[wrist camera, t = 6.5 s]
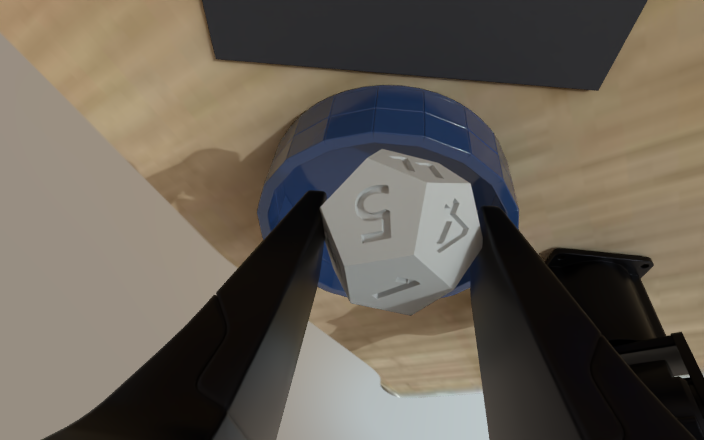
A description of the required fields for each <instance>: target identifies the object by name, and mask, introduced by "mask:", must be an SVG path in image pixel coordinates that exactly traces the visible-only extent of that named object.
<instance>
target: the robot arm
mask: <svg viewBox="0 0 704 440" xmlns="http://www.w3.org/2000/svg"><path fill="white" fill-rule="evenodd" d="M326 201H327V195H326V193H325V192H324V191H316V190H309V191H307V192H306V193H305V194H304V196H303V197H302V198H301V199H300V200H299V201H298V202H297V203H296V205H295V206H294V207H293V208H292V209H291V210H290V211H289V212H288V213H287V215H286V216H285V217H284V218H283V219H282V220H281V221H280V222H279V223H278V225H277V226H276V227H275V228H274V229H273V230H272V231H271V232H270V233H269V235H268V236H267V237H266V238H265V239H264V240H263V241H262V242H261V243H260V245H259V246H258V247H257V248H256V249H255V250H254V251H253V252H252V253H251V255H250V256H249V257H248V258H247V259H246V260H245V261H244V262H243V263H242V265H241V266H240V267H239V268H238V269H237V270H236V271H235V272H234V274H233V275H232V276H231V277H230V278H229V279H228V280H227V281H226V283H224V285H223V286H222V287H221V288H220V289H219V290H218V291H217V293H216V294H217V296H216V295H213V297H212V298H211V299H210V300H209V301H208V302H207V303H206V304H205V305H204V307H203V308H202V309H201V310H200V311H199V312H198V313H197V314H196V315H195V316H194V317H193V318H192V319H191V321H189V323H188V324H187V325H186V326H185V327H184V328H183V329H182V330H181V331H179V332H178V333H177V334H176V335H175V336H174V337H173V338H172V339H171V340H170V341H169V342H168V343H167V344H166V345H165V346H164V347H163V348H161V349H160V350H159V351H158V352H157V353H156V354H155V355H154V356H153V357H152V358H150V360H148V361H147V362H146V363H145V364H144V365H143V366H142V367H141V368H139V369H138V370H137V371H136V372H135V373H134V374H133V375H132V376H131V377H130V378H129V379H127V380H126V381H125V382H124V383H123V384H122V385H121V386H120V387H119V388H118V389H116V390H115V391H114V392H113V393H112V394H111V395H110V396H109V397H107V398H106V399H105V400H104V401H103V402H102V403H101V404H99V405H98V406H97V407H95V408H94V409H93V410H91V411H90V412H89V413H88V414H86V415H84V416H83V417H82V418H80V419H79V420H77V421H75V422H74V423H72V424H70V425H69V426H67V427H65V428H64V429H61V430H60V431H58V432H55V433H54V434H52V435H50V436H48V437H46V438H44V439H42V440H276V438H277V434H278V430H279V427H280V423H281V419H282V416H283V412H284V408H285V404H286V401H287V397H288V393H289V390H290V386H291V382H292V378H293V375H294V371H295V368H296V364H297V360H298V356H299V352H300V349H301V345H302V342H303V338H304V334H305V330H306V327H307V323H308V320H309V316H310V312H311V309H312V305H313V301H314V297H315V294H316V290H317V286H318V282H319V276H320V270H321V263H322V256H323V249H324V241H325V240H324V230H323V225H322V218H321V212H320V207H321V206H322V205H323V204H324V203H325V202H326ZM477 214H478V219H479V223H480V228H481V232H482V237H483V244H482V249H481V250H480V252H479V253H478V255H477V256H476V258H475V259H474V261H473V262H472V264H471V265H470V290H471V304H472V312H473V320H474V327H475V335H476V342H477V349H478V357H479V364H480V372H481V379H482V387H483V394H484V402H485V409H486V417H487V423H488V432H489V439H490V440H704V377H703V375H702V373H701V371H700V369H699V367H698V365H697V362H696V360H695V358H694V356H693V354H692V352H691V350H690V348H689V346H688V344H687V342H686V340H685V338H684V336H683V334H682V332H677V333H672V334H671V335H670V336H666V334H665V332H664V330H663V328H662V326H661V323H660V321H659V319H658V317H657V314H656V312H655V310H654V308H653V306H652V303H651V301H650V299H649V297H648V294H647V292H646V290H645V288H644V285H643V283H642V281H641V279H640V278H642V277H643V276H644V275H645V274H646V273H647V272H648V271H649V270H650V269H651V268H652V267H653V262H652V260H651V258H649V257H642V256H632V255H622V254H612V253H602V252H593V251H583V250H573V249H563V248H562V249H556V250H554V251H553V252H552V253H551V255H550V256H549V258H548V259H547V261H546V262H544V261H543V260H542V259H541V257H540V256H539V255H538V254H537V252H536V251H535V250H534V249H533V247H532V246H531V245H530V244H529V242H528V241H527V240H526V239H525V237H524V236H523V235H522V234H521V233H520V231H519V230H518V229H517V228H516V226H515V225H514V224H513V223H512V221H511V220H510V219H509V218H508V216H507V215H506V214H505V213H504V211H503V210H502V209H501V208H499V207H496V206H485V205H484V206H481V207H480V208H479V210H478V213H477ZM686 374H689V375H690V378H681V377H679V375H686ZM674 376H678V377H674Z"/></svg>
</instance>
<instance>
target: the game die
mask: <svg viewBox="0 0 704 440" xmlns="http://www.w3.org/2000/svg"><path fill="white" fill-rule="evenodd" d="M320 212H321V218H322V225H323V230H324V240H325V243H326V247H327V250H328V253H329V256H330V259H331V262H332V266H333V269H334V271H335V273H336V275H337V277H338V279H339V281H340V283H341V285H342V287H343V289H344V291H345V293H346V295H347V297H348V299H349V301H350V303H352V304H357V305H362V306H367V307H372V308H377V309H381V310H386V311H391V312H396V313H401V314H405V315H410V316H411V315H413V314H415V313H416V312H418V311H420V310H421V309H423V308H425V307H426V306H428V305H430V304H431V303H433V302H435V301H436V300H438V299H440V298H441V297H443V296H445V295H446V294H448V293H450V292H451V291H453V290H454V289H455V287H456V286H457V284H458V283H459V281H460V280H461V278H462V277H463V275H464V274H465V272H466V271H467V269H468V268H469V267H470V265H471V264H472V262H473V261H474V259H475V258H476V256H477V255H478V253H479V252H480V250H481V249H482V244H483V237H482V232H481V228H480V223H479V219H478V214H477V210H476V205H475V201H474V196H473V192H472V187H471V183H469V182H468V181H466V180H464V179H463V178H461V177H460V176H458V175H456V174H455V173H453V172H452V171H450V170H448V169H447V168H445V167H444V166H442V165H441V164H439V163H436V162H432V161H428V160H424V159H420V158H417V157H413V156H409V155H405V154H401V153H397V152H393V151H389V150H385V149H381V150H379V151H378V152H376V153H374V154H373V155H371V156H369V157H368V158H367V159H366V160H365V161H364V162H363V163H362V164H361V165H360V166H359V167H358V168H357V169H356V170H355V171H354V172H353V173H352V174H351V175H350V176H349V177H348V178H347V180H346V181H345V182H344V183H343V184H342V185H341V186H340V187H339V188H338V189H337V190H336V191H335V192H334V193H333V194H332V195H331V196H330V197H329V198H328V199H327V201H326V202H325V203H324V204H323V205H322V206H321V207H320Z"/></svg>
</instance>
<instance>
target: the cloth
mask: <svg viewBox="0 0 704 440" xmlns="http://www.w3.org/2000/svg"><path fill="white" fill-rule="evenodd" d="M202 2H203V6H204V11H205V15H206V19H207V23H208V28H209V32H210V36H211V41H212V45H213V49H214V53H215V58H216V59H221V60H233V61H245V62H257V63H269V64H281V65H293V66H306V67H318V68H330V69H342V70H354V71H366V72H378V73H390V74H402V75H415V76H427V77H439V78H451V79H463V80H475V81H487V82H499V83H512V84H524V85H536V86H548V87H560V88H572V89H584V90H596V91H598V90H599V88H600V86H601V85H602V83H603V81H604V79H605V77H606V75H607V74H608V72H609V70H610V68H611V66H612V64H613V63H614V61H615V59H616V57H617V55H618V53H619V52H620V50H621V48H622V46H623V44H624V43H625V41H626V39H627V37H628V35H629V33H630V32H631V30H632V28H633V26H634V24H635V22H636V21H637V19H638V17H639V15H640V13H641V11H642V10H643V8H644V6H645V4H646V2H647V0H202Z"/></svg>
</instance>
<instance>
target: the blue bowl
mask: <svg viewBox="0 0 704 440" xmlns="http://www.w3.org/2000/svg"><path fill="white" fill-rule="evenodd" d="M381 149H385V150H389V151H393V152H397V153H401V154H405V155H409V156H413V157H417V158H420V159H424V160H428V161H432V162H436V163H439V164H441V165H442V166H444V167H445V168H447V169H448V170H450V171H452V172H453V173H455V174H456V175H458V176H460V177H461V178H463V179H464V180H466V181H468V182H469V183H471V187H472V192H473V196H474V201H475V205H476V210H477V213H478V210H479V208H480V207H481V206H484V205H485V206H496V207H499V208H501V209H502V210H503V211H504V213H505V214H506V215H507V216H508V218H509V219H510V220H511V221H512V223H513V224H514V225H515V226H516V228H517V229H518V230H519V208H518V204H517V199H516V195H515V191H514V187H513V183H512V179H511V174H510V170H509V166H508V162H507V159H506V157H505V155H504V153H503V151H502V148H501V146H500V143H499V141H498V140H497V138H496V137H495V135H494V133H493V132H492V130H491V129H490V128H489V127H488V126H487V125H486V124H485V123H484V121H483V120H482V119H481V118H479V117H478V116H477V115H476V114H474V113H473V112H472V111H471V110H469V109H468V108H466V107H465V106H463V105H461V104H460V103H458V102H456V101H454V100H452V99H450V98H448V97H445V96H443V95H440V94H438V93H435V92H431V91H428V90H424V89H420V88H414V87H407V86H399V85H378V86H368V87H361V88H357V89H352V90H348V91H344V92H342V93H339V94H336V95H333V96H331V97H329V98H327V99H325V100H323V101H321V102H319V103H317V104H315V105H314V106H313V107H311V108H310V109H308V110H307V111H306V112H304V113H303V114H302V115H301V116H300V117H299V118H298V119H297V120H296V121H295V122H294V123H293V124H292V125H291V127H290V128H289V129H288V131H287V132H286V133H285V135H284V137H283V138H282V139H281V141H280V143H279V145H278V148H277V151H276V153H275V156H274V159H273V161H272V164H271V167H270V170H269V172H268V175H267V178H266V180H265V183H264V186H263V190H262V194H261V197H260V201H259V205H258V209H257V215H258V219H259V224H260V228H261V233H262V237H263V239H265V238H266V237H267V236H268V235H269V233H270V232H271V231H272V230H273V229H274V228H275V227H276V226H277V225H278V223H279V222H280V221H281V220H282V219H283V218H284V217H285V216H286V215H287V213H288V212H289V211H290V210H291V209H292V208H293V207H294V206H295V205H296V203H297V202H298V201H299V200H300V199H301V198H302V197H303V196H304V194H305V193H306V192H307V191H309V190H316V191H324V192H325V193H326V195H327V199H328V198H329V197H330V196H331V195H332V194H333V193H334V192H335V191H336V190H337V189H338V188H339V187H340V186H341V185H342V184H343V183H344V182H345V181H346V180H347V178H348V177H349V176H350V175H351V174H352V173H353V172H354V171H355V170H356V169H357V168H358V167H359V166H360V165H361V164H362V163H363V162H364V161H365V160H366V159H367V158H368V157H369V156H371V155H373V154H374V153H376V152H378V151H379V150H381ZM317 287H319V288H321V289H323V290H325V291H328V292H330V293H334V294H337V295H341V296H344V297H347V295H346V293H345V291H344V289H343V287H342V285H341V283H340V281H339V279H338V277H337V275H336V273H335V271H334V269H333V266H332V262H331V259H330V256H329V253H328V250H327V247H326V243H325V241H324V249H323V256H322V263H321V270H320V276H319V282H318V286H317ZM468 288H470V267H469V268H468V269H467V271H466V272H465V274H464V275H463V277H462V278H461V280H460V281H459V283H458V284H457V286H456V287H455V289H454V290H453V291H451V292H450V293H448V294H446V295H445V296H443V297H441V298H444V297H448V296H452V295H455V294H458V293H460V292H462V291H464V290H466V289H468Z"/></svg>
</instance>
